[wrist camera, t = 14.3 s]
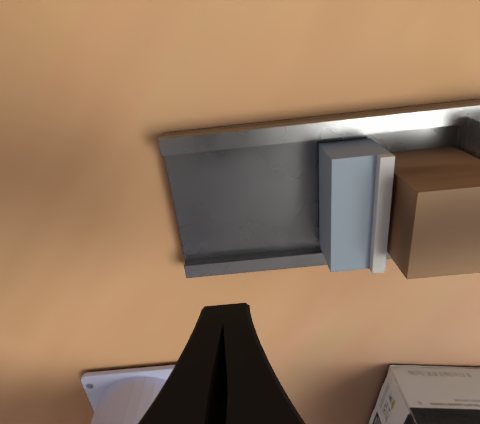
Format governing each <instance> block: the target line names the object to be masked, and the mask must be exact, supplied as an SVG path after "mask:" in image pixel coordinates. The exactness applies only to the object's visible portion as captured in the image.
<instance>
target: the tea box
mask: <svg viewBox="0 0 480 424" xmlns="http://www.w3.org/2000/svg"><path fill="white" fill-rule="evenodd" d="M369 424H480V368H473V367H445V366H416V365H390V366H389V370H388V374H387V377H386V379H385V382H384V383H383V386H382V388H381V391H380V394H379V397H378V400H377V403H376V406H375V409H374V410H373V413H372V415H371V418H370V421H369Z"/></svg>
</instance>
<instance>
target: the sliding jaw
mask: <svg viewBox="0 0 480 424" xmlns="http://www.w3.org/2000/svg"><path fill="white" fill-rule="evenodd" d="M394 165H395V156H394V155H393V154H392V153H390V152H389V151H387V150H386V149H385V148H383V147H382V146H381V145H379V144H378V143H376V142H375V141H374V140H372V139H371V138H365V139H355V140H346V141H336V142H327V143H319V245H320V248H321V250H322V252H323V255H324V257H325V260H326V262H327V264H328V267H329V269H330V272H338V271H349V270H359V269H370V270H371V272H372V273H381V272H385V265H386V254H387V243H388V232H389V221H390V209H391V198H392V187H393V176H394Z"/></svg>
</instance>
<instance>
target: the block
mask: <svg viewBox="0 0 480 424" xmlns="http://www.w3.org/2000/svg"><path fill="white" fill-rule="evenodd" d="M390 153H392V154H393V155H394V156H395V165H394V176H393V187H392V198H391V209H390V221H389V232H388V243H387V252H388V254H389V255H390V256H391V258H392V259H393V261H394V262H395V263H396V265H397V266H398V268H399V269H400V270H401V272H402V273H403V274H404V276H405V277H406V279H413V278H425V277H436V276H447V275H458V274H470V273H480V159H478V158H476V157H474V156H472V155H470V154H468V153H466V152H464V151H462V150H460V149H457V148H455V147H453V146H448V147H437V148H427V149H417V150H407V151H397V152H390Z"/></svg>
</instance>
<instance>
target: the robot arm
mask: <svg viewBox="0 0 480 424" xmlns="http://www.w3.org/2000/svg"><path fill="white" fill-rule="evenodd" d="M81 383H82V385H83V388H84V390H85V392H86V395H87V397H88V399H89V402H90V404H91V406H92V409H93V411H94V415H93V417H92V420H91V423H90V424H305V423H304V421H303V420H302V418H301V417H300V415H299V413H298V412H297V410H296V409H295V407H294V406H293V404H292V402H291V401H290V399H289V398H288V396H287V394H286V393H285V391H284V389H283V387H282V386H281V384H280V382H279V380H278V378H277V376H276V375H275V373H274V371H273V369H272V367H271V365H270V363H269V361H268V359H267V357H266V355H265V352H264V350H263V348H262V346H261V344H260V341H259V339H258V336H257V333H256V331H255V328H254V325H253V322H252V318H251V314H250V306H249V305H248V304H246V303H238V304H227V305H217V306H206V307H204V308H203V309H202V311H201V313H200V316H199V319H198V321H197V323H196V326H195V328H194V330H193V332H192V334H191V336H190V338H189V340H188V343H187V344H186V346H185V348H184V350H183V352H182V354H181V356H180V358H179V360H178V361H177V363H176V365H166V366H154V367H143V368H131V369H120V370H109V371H97V372H87V373H84V374H83V376H82V378H81Z"/></svg>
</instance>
